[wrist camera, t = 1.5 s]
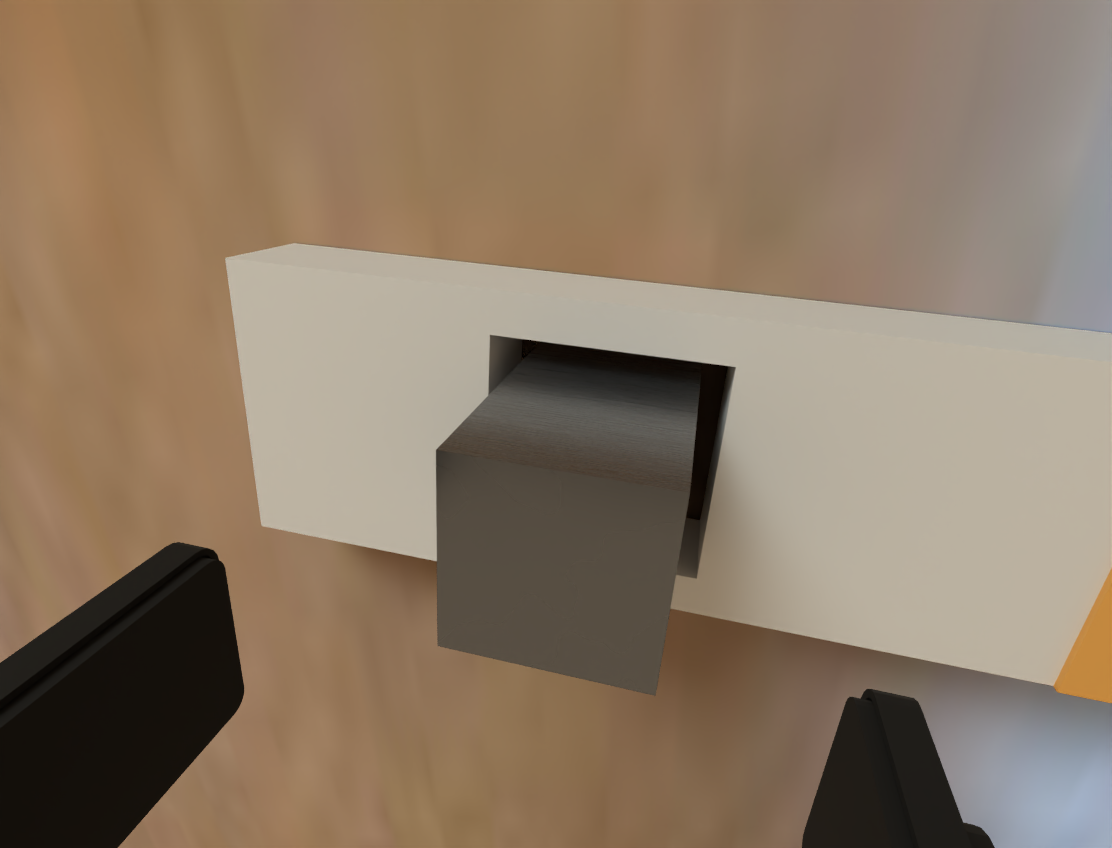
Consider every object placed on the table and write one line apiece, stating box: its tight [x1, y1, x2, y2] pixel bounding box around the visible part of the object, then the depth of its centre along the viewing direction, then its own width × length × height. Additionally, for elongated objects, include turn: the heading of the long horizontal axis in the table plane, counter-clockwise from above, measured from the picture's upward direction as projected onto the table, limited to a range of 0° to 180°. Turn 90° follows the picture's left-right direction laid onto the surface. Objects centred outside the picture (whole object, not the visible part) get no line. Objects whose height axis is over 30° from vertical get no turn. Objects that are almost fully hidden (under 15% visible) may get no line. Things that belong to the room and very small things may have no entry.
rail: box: [225, 243, 1112, 703], centre depth 16 cm, size 8×36×3 cm, turn 86°
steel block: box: [436, 341, 702, 696], centre depth 15 cm, size 4×4×8 cm
